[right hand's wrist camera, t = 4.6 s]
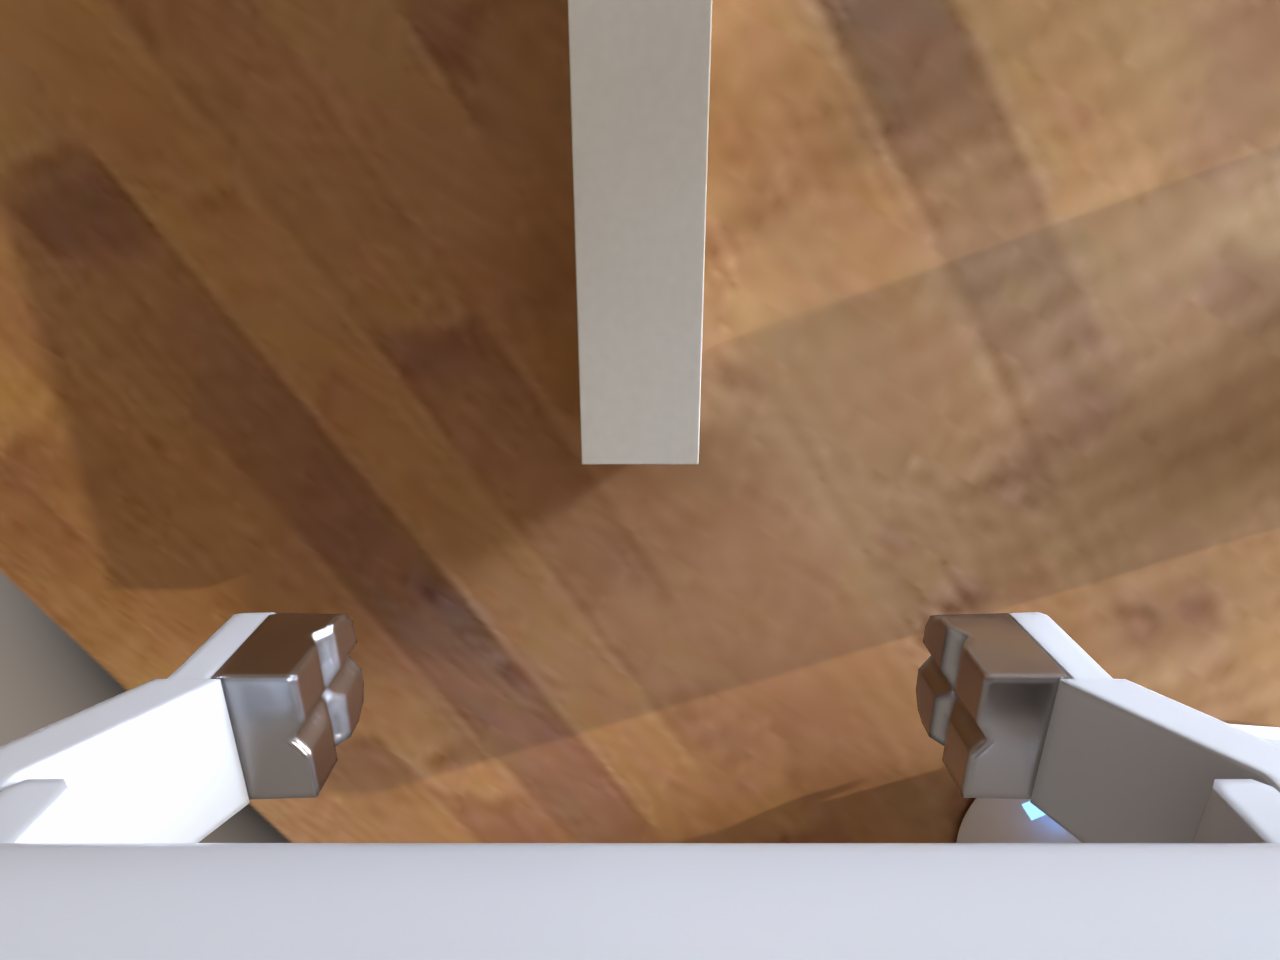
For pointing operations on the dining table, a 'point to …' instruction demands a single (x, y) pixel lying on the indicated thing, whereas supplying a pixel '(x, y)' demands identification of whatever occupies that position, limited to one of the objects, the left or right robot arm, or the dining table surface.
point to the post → (639, 223)
